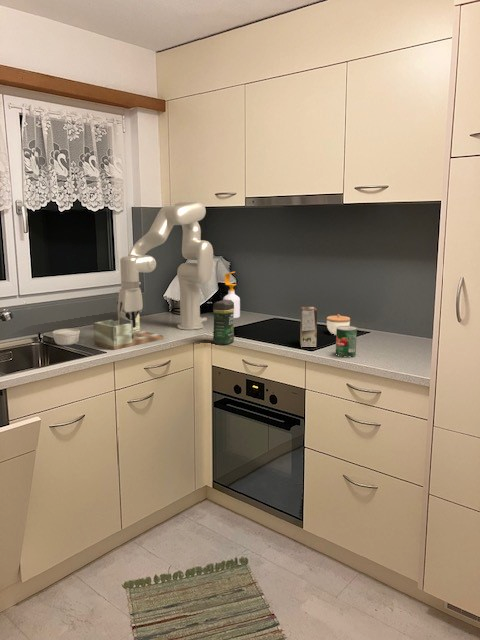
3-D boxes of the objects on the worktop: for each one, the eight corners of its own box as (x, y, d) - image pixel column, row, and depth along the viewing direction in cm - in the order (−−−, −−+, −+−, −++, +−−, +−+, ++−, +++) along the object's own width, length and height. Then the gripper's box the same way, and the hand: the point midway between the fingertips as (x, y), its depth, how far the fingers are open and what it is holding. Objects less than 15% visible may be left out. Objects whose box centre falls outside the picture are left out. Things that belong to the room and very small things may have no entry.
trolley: (120, 334, 235) (119, 317, 234) (134, 338, 229) (133, 320, 227) (101, 338, 228) (100, 321, 226) (115, 342, 221) (114, 324, 220)
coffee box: (316, 348, 222) (317, 310, 219) (301, 348, 222) (302, 309, 219) (314, 342, 231) (315, 306, 228) (299, 342, 231) (300, 306, 228)
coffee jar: (227, 346, 225) (227, 302, 222) (210, 344, 229) (210, 301, 225) (237, 341, 234) (236, 299, 230) (220, 339, 237) (220, 298, 234)
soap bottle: (234, 319, 282) (233, 272, 278) (219, 317, 287) (219, 271, 282) (243, 316, 290) (243, 271, 285) (229, 314, 295) (229, 270, 290)
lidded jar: (354, 334, 247) (355, 314, 245) (339, 337, 240) (339, 317, 238) (336, 330, 255) (337, 311, 253) (321, 333, 248) (321, 313, 246)
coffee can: (122, 327, 261) (120, 299, 259) (142, 328, 260) (141, 299, 258) (115, 332, 251) (113, 302, 249) (136, 333, 250) (135, 303, 248)
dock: (143, 334, 247) (142, 314, 245) (163, 338, 238) (162, 318, 236) (94, 344, 228) (93, 322, 226) (114, 349, 219) (113, 327, 217)
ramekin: (85, 340, 236) (84, 328, 235) (72, 346, 225) (71, 334, 224) (62, 339, 238) (61, 327, 237) (48, 345, 228) (47, 333, 227)
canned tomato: (332, 355, 210) (333, 328, 208) (339, 351, 216) (340, 324, 214) (351, 358, 206) (352, 330, 204) (358, 354, 212) (359, 326, 210)
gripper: (138, 283, 237) (140, 323, 241) (110, 286, 227) (112, 328, 230) (149, 284, 233) (150, 325, 236) (121, 288, 222) (122, 331, 225)
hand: (131, 327), depth 233 cm, fingers closed
